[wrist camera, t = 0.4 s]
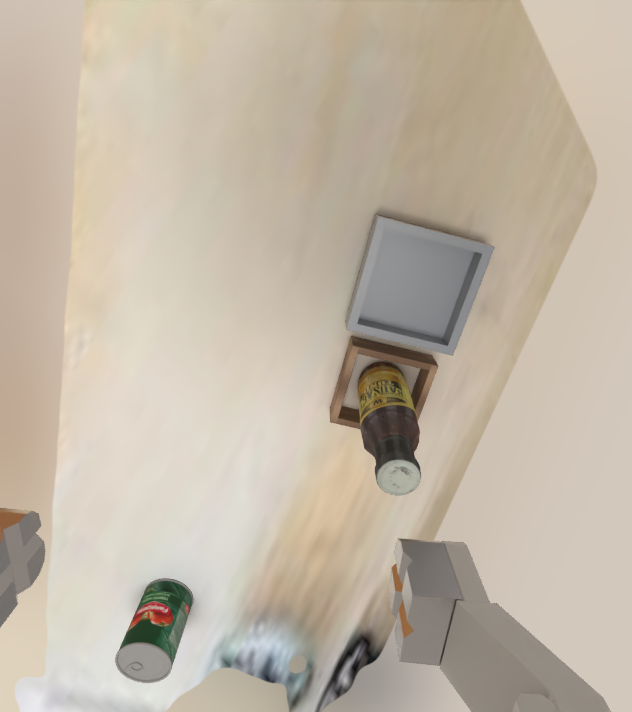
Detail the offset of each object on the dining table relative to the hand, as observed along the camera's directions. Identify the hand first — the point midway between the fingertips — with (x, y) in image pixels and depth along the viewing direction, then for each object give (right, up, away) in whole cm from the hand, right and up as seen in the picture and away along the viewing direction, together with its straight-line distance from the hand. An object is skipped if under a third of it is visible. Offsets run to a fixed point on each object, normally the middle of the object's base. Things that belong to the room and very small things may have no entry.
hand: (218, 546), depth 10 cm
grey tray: (+14, +13, +44) cm, 48 cm away
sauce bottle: (+10, +1, +49) cm, 50 cm away
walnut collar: (+10, +1, +48) cm, 50 cm away
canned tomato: (-22, -35, +63) cm, 75 cm away
